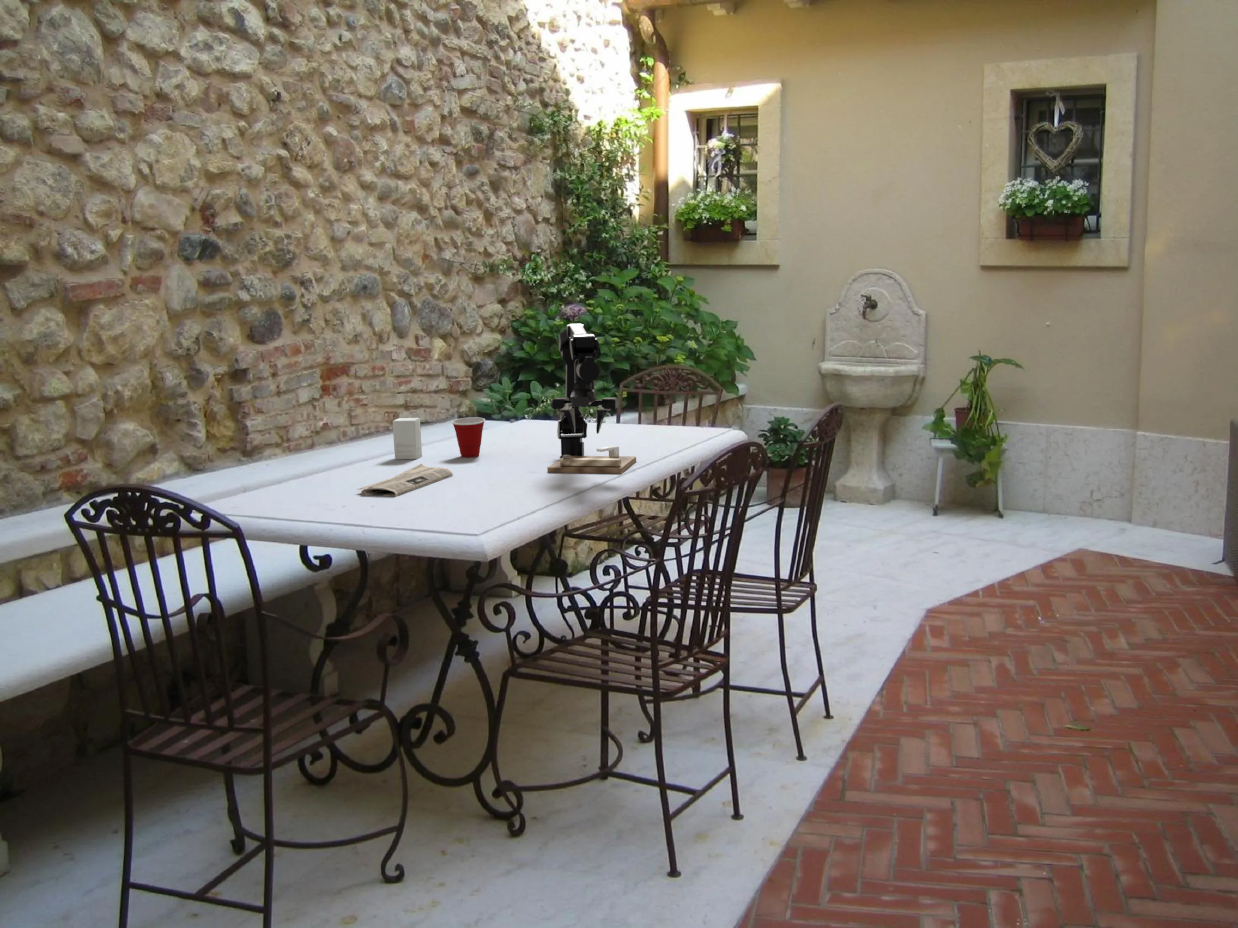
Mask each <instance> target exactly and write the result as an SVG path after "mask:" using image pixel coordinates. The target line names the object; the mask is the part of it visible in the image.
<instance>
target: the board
mask: <svg viewBox="0 0 1238 928" xmlns="http://www.w3.org/2000/svg"><path fill="white" fill-rule="evenodd" d="M570 458H609V455H608V456H607V455H598V456H597V455H584V456H570ZM612 459H621V465H620V466H561V465H560V459H559V460H558V461H556V462H554V463H551V465H549V466H547V473H549V474H550V473H553V474H559V473H561V474H623V472H625V471H626V470H627V469H629V468H630V467H631V466H632V465H634V464H636V462H637V456H623V455H622V456H620V455H619V458H612Z"/></svg>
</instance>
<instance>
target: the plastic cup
mask: <svg viewBox="0 0 1238 928" xmlns="http://www.w3.org/2000/svg"><path fill="white" fill-rule="evenodd" d="M485 422H486V419H485V418H483V417H476V416H475V417H473V416H471V417H470V416H469V417H461V418H456V419H454V420H451V424H452V425H453V428H454V431H455V435H456V439H457V445H458V447H459V453H460V456H461V458H476V457H479V456H480V451H481V446H482V438H483V430H484V425H485Z"/></svg>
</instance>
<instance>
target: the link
mask: <svg viewBox="0 0 1238 928" xmlns="http://www.w3.org/2000/svg"><path fill="white" fill-rule="evenodd" d="M559 460H560V465H561V466H620V465H621V459H612V458H570V455H563V458H559Z"/></svg>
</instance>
